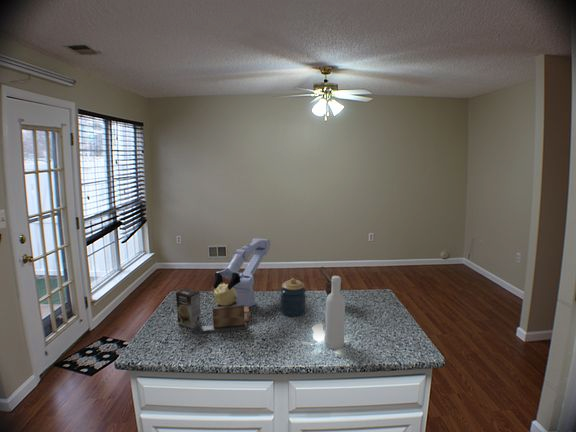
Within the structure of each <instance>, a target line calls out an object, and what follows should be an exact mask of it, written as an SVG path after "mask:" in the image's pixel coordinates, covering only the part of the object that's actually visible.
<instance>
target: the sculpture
mask: <svg viewBox="0 0 576 432" xmlns="http://www.w3.org/2000/svg"><path fill="white" fill-rule="evenodd" d="M228 284H229V283H225V282H222V283H220V284H219V286H218V287H217V288H216V289H214V288H213V298H214V302H215V303H216V304H217V305H219V306H220V307H225V306H232V305H234V304H235V303H236V290H235V288H233V287H232V288H231V289H230V290H229V289H228V287H227V286H228Z"/></svg>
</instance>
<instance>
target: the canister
mask: <svg viewBox="0 0 576 432" xmlns="http://www.w3.org/2000/svg"><path fill="white" fill-rule="evenodd" d="M279 291H280V292H281V293H280V306H279V307H280V313H281V314H283V315H284V316H286V317H293V318H294V317H300V316H303V315H304V314H305V313H306V310H307V309H306V308H307V306H306V303H307V302H306V301H307V300H306V299H307V298H306V297H307V294H306V291H307V288H306V287H305V283H304V282H302V281H301V280H299V279H296V278H294V277H292V278H290V279H288V280H286V281H284V282H283V283H282V284H281V287H280V289H279Z"/></svg>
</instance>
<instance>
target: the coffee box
mask: <svg viewBox="0 0 576 432" xmlns="http://www.w3.org/2000/svg"><path fill="white" fill-rule="evenodd" d="M175 296H176V300H175V301H176V310H177V312H176V313H177V324H178V325H181V326H184V327H187V328H190V329H193V327H197V326H198V325H200V324H201V323H202V320H201V318H202V317H201V300H200V299H201V297H200V296H201V295H200V290H195V289H191V288H188V287H184V288H183V289H180V290H178V291H176V292H175ZM196 325H197V326H196Z"/></svg>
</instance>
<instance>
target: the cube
mask: <svg viewBox="0 0 576 432" xmlns="http://www.w3.org/2000/svg"><path fill="white" fill-rule="evenodd" d="M249 308H250V307H249ZM249 308H248V307H244V322H249V321H250V309H249Z"/></svg>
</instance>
